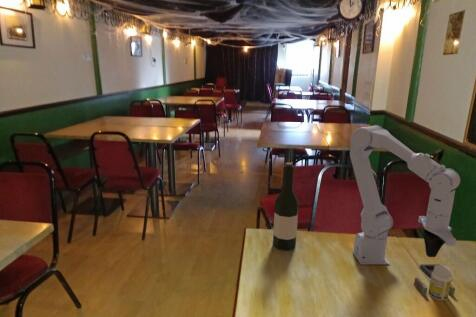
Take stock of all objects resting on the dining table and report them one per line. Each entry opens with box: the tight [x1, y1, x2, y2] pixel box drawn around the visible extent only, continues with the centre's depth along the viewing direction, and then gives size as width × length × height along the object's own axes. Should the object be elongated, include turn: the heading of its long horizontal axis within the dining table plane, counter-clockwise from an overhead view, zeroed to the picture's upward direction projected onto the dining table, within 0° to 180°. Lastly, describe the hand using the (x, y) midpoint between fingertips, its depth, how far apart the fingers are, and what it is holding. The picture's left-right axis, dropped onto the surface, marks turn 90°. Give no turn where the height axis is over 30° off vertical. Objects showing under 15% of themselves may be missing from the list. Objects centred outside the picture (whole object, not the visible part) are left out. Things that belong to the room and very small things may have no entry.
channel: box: [413, 277, 456, 297], centre depth 97 cm, size 9×5×2 cm, turn 92°
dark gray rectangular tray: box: [419, 263, 452, 280], centre depth 106 cm, size 6×6×1 cm
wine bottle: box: [272, 162, 300, 252], centre depth 118 cm, size 8×8×30 cm
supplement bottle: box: [428, 264, 452, 301], centre depth 94 cm, size 5×5×8 cm
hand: (430, 255), depth 99 cm, fingers closed
